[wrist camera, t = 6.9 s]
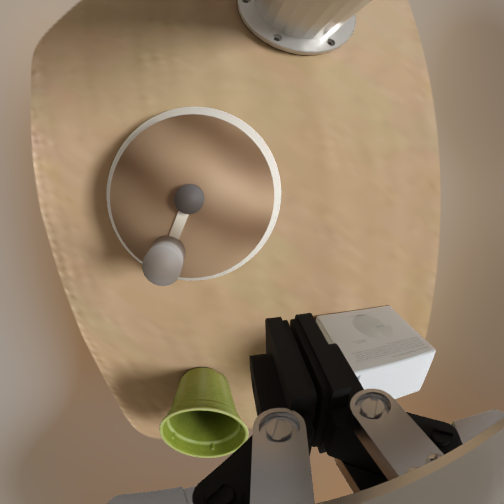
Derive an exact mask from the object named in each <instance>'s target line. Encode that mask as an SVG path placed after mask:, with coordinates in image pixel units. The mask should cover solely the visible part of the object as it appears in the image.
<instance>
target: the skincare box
mask: <svg viewBox="0 0 504 504" xmlns="http://www.w3.org/2000/svg"><path fill="white" fill-rule="evenodd" d="M316 323H317V324H318V326H319V328H320V330H321V331H322V333H323V335H324V337H325V339H326V340H327V342H328V344H333V343H336V344H337V345H338V346H339V348H340V349H341V351H342V353H343V354H344V356H345V358H346V359H347V361H348V363H349V365H350V366H351V368H352V370H353V371H354V373H355V375H356V376H357V378H358V380H359V382H360V383H361V385H362V387H363V388H364V390H365V389H379V390H383V391H385V392H387V393H388V394H390V395H391V396H392V397H393V398H394V399H396V398H399V397H402V396H405V395H408V394H411V393H414V392H416V391H419V390H420V388H421V386H422V383H423V381H424V379H425V377H426V374H427V372H428V370H429V367H430V365H431V362H432V360H433V357H434V354H435V352H436V350H435V349H434V348H433V347H432V346H431V345H430V344H429V343H428V342H427V341H426V340H425V339H424V338H423V337H422V336H420V334H418V333H417V332H416V331H415V330H414V329H413V328H412V327H411V326H410V325H409V324H408V323H407V322H406V321H405V320H404V319H403V318H402V317H401V316H400V315H399V314H398V313H397V312H395V311H394V310H393V309H392V307H391V306H390V305H388V306H382V307H375V308H369V309H362V310H356V311H349V312H342V313H335V314H327V315H319V316H317V317H316Z"/></svg>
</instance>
